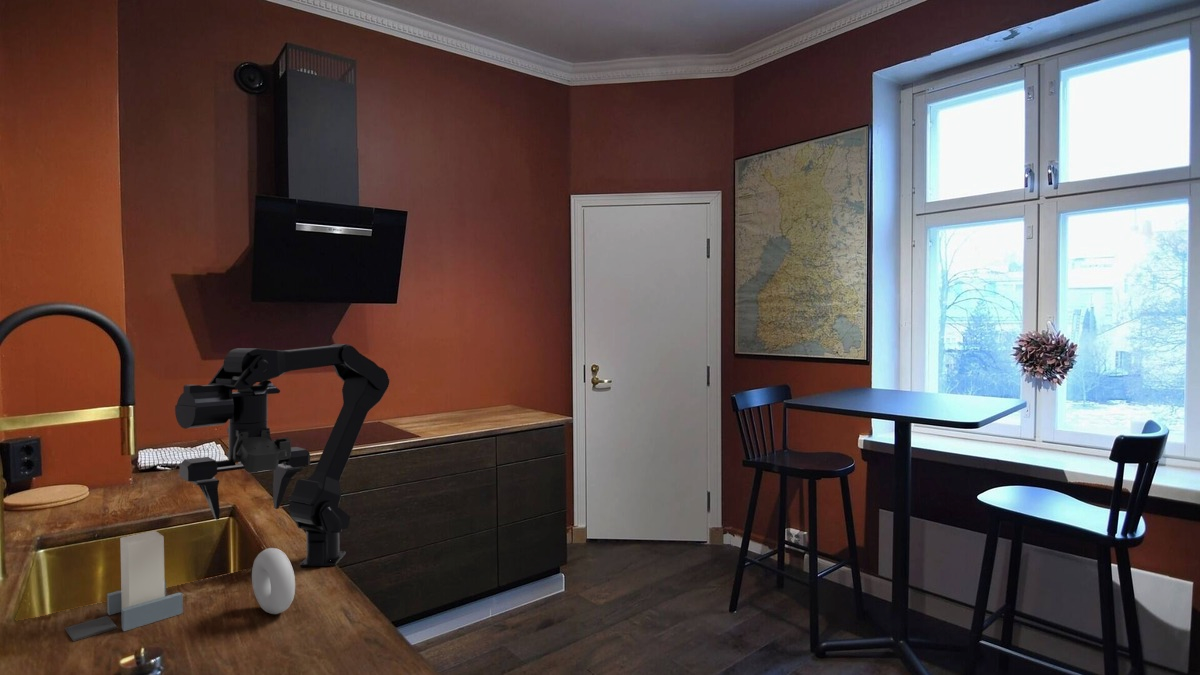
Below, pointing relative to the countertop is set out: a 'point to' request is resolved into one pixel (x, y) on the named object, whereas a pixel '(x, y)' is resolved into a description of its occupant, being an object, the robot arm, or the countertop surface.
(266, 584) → the donut
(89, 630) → the mat
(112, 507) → the countertop surface
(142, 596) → the block
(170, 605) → the channel
